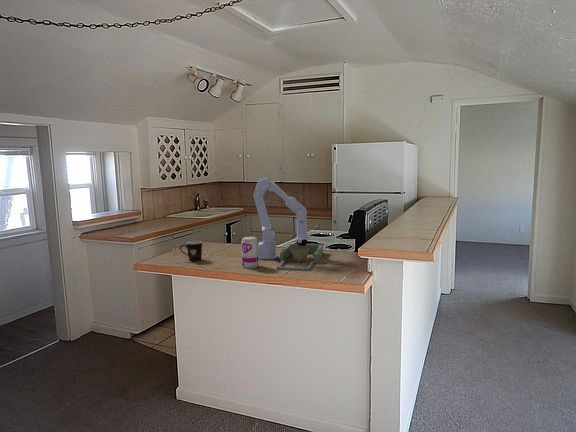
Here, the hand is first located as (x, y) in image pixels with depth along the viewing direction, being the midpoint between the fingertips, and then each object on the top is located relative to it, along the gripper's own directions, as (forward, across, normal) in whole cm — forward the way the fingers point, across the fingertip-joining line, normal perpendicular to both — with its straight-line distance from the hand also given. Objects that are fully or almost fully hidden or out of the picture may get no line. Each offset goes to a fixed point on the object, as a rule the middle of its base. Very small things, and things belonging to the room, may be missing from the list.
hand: (302, 253), depth 235 cm
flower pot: (+3, -7, 0) cm, 7 cm away
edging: (+2, -18, 0) cm, 18 cm away
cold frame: (+2, -1, 0) cm, 3 cm away
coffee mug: (+2, -12, +59) cm, 60 cm away
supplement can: (+3, -22, +23) cm, 32 cm away
